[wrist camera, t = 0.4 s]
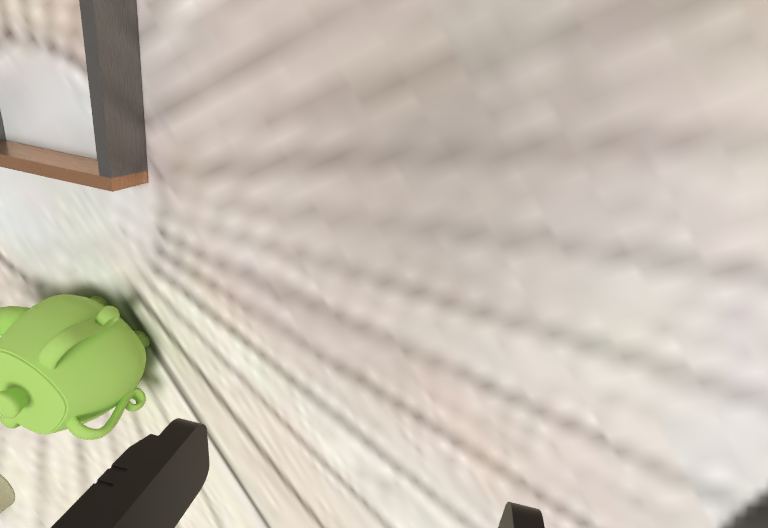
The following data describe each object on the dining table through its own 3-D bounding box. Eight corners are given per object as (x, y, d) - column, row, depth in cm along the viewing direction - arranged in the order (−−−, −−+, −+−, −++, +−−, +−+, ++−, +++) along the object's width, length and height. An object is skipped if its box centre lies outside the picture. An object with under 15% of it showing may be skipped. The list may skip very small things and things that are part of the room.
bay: (-104, -176, 33) (-184, -215, 29) (166, -145, 31) (120, -183, 27) (-30, 143, 43) (-82, 148, 39) (179, 189, 41) (146, 199, 37)
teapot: (61, 372, 54) (-50, 446, 42) (32, 273, 49) (-104, 328, 37) (171, 394, 52) (85, 478, 40) (154, 293, 46) (49, 357, 35)
